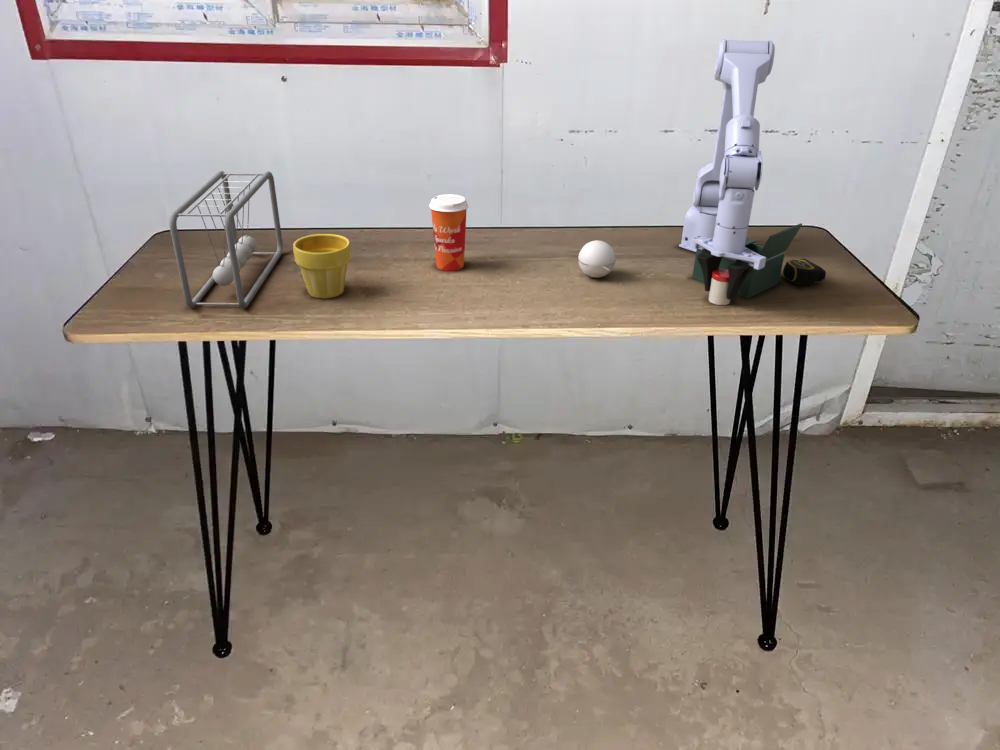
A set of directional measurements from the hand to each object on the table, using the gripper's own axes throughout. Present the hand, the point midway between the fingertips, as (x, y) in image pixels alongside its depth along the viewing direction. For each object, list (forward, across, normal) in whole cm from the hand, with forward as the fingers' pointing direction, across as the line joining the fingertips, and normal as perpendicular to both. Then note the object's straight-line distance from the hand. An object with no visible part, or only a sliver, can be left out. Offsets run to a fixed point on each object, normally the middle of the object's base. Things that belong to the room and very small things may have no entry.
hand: (720, 293), depth 145 cm
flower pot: (+2, -51, -54) cm, 74 cm away
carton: (+1, -4, +10) cm, 11 cm away
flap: (-9, +4, +10) cm, 14 cm away
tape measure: (+2, +5, +21) cm, 22 cm away
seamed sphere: (+2, -22, -10) cm, 24 cm away
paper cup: (+2, -46, -28) cm, 54 cm away
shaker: (+1, 0, 0) cm, 1 cm away
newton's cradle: (+2, -67, -64) cm, 93 cm away
